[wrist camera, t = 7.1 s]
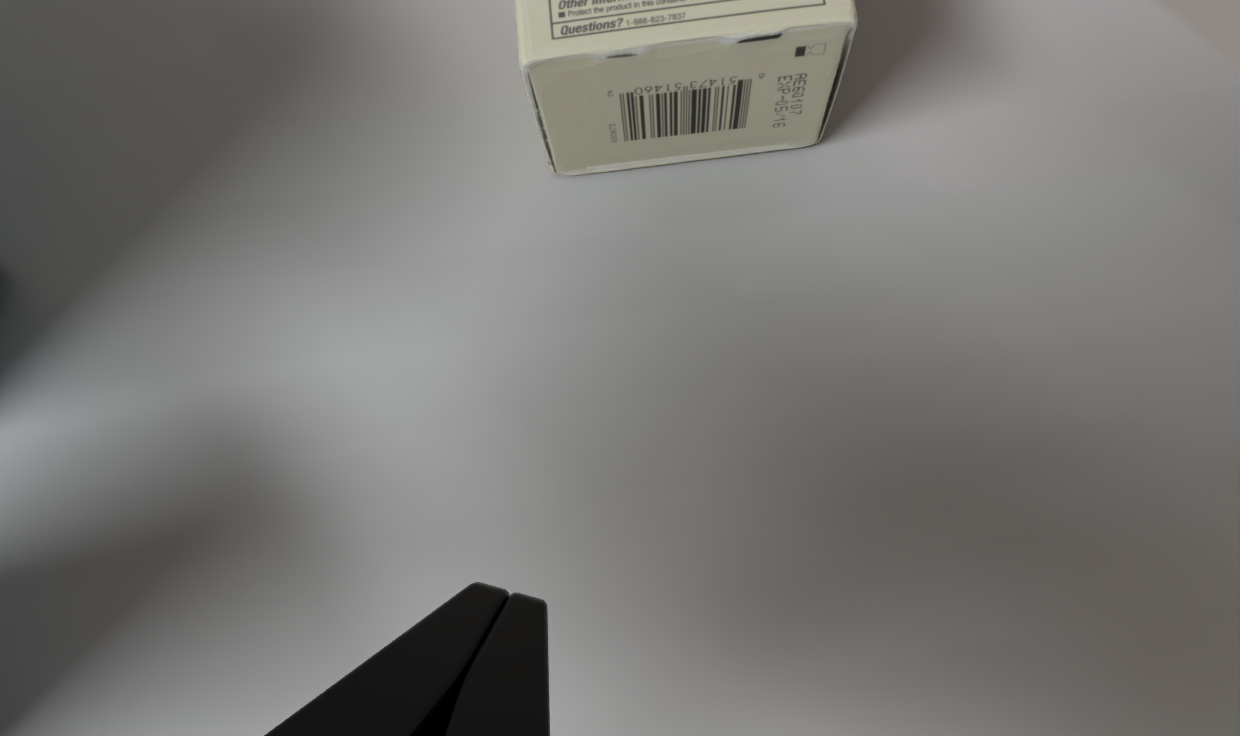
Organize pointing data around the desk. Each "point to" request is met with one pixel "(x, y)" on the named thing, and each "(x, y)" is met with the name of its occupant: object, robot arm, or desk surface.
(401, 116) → the desk surface
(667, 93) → the skincare box
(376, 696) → the robot arm
